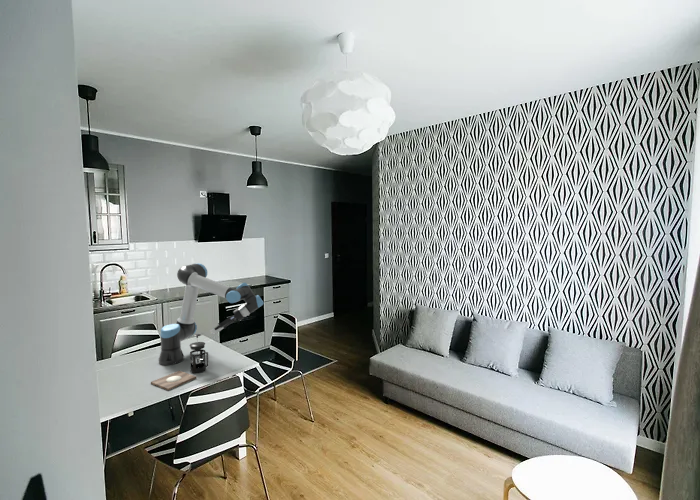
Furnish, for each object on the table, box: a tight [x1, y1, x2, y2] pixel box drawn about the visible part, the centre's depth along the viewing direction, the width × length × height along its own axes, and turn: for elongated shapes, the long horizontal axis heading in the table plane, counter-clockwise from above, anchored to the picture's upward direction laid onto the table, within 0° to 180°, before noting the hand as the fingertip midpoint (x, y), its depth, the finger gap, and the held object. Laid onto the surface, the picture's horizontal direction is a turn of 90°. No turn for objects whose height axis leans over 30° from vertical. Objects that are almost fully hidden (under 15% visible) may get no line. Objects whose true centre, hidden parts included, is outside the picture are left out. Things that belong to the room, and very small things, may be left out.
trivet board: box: [150, 370, 197, 391], centre depth 210 cm, size 16×18×1 cm
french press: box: [189, 333, 209, 375], centre depth 224 cm, size 12×9×23 cm
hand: (212, 332), depth 230 cm, fingers open, 13 cm apart
